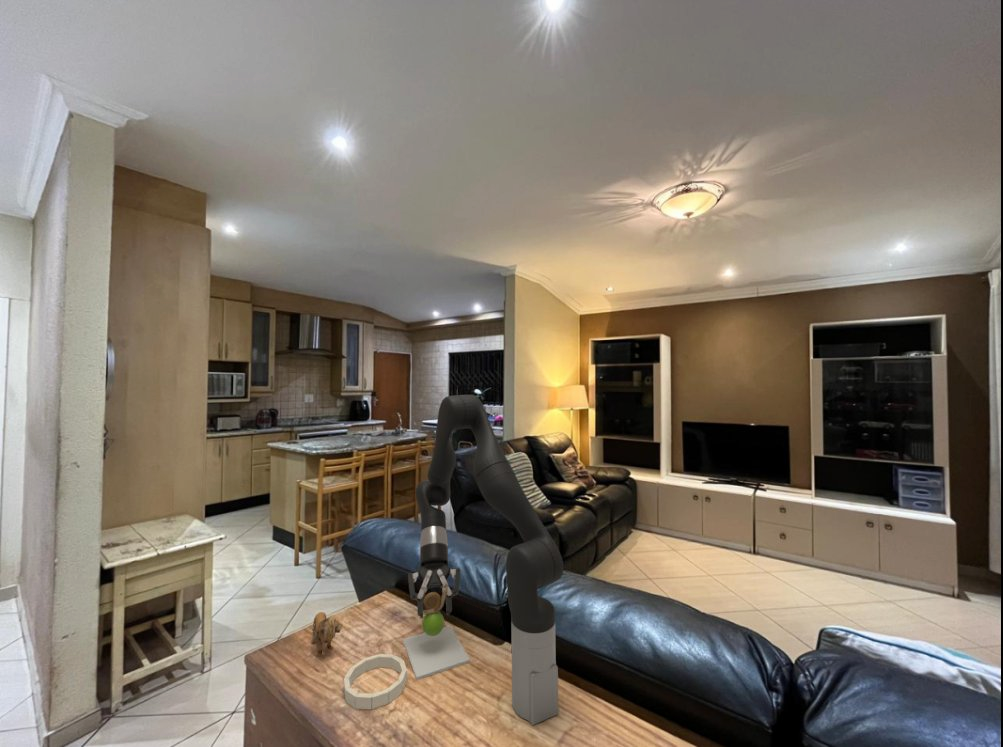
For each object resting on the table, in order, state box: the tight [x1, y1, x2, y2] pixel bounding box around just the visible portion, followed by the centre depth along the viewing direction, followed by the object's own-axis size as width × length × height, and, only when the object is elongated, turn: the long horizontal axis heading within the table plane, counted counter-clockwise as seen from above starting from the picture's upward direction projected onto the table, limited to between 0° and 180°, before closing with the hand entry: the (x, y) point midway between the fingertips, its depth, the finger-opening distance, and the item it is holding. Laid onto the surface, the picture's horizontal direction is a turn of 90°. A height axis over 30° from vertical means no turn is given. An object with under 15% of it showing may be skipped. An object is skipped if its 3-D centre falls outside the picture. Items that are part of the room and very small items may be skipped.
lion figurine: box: [310, 611, 344, 657], centre depth 102 cm, size 15×5×9 cm, turn 45°
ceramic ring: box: [343, 653, 408, 710], centre depth 88 cm, size 13×13×2 cm
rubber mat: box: [402, 625, 471, 681], centre depth 99 cm, size 15×13×1 cm
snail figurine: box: [421, 581, 449, 636], centre depth 100 cm, size 5×6×12 cm
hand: (434, 615), depth 98 cm, fingers closed on snail figurine, 6 cm apart
